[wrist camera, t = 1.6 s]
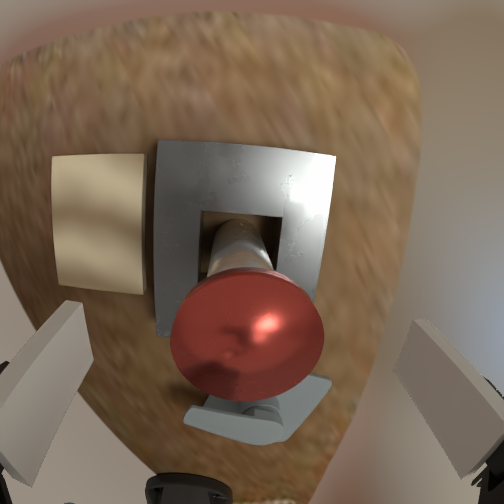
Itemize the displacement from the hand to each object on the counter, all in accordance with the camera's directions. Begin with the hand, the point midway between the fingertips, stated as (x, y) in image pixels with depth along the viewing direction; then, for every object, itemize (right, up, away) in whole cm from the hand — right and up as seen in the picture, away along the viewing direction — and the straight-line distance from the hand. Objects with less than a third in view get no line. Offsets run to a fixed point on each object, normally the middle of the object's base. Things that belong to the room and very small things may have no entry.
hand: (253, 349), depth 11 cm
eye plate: (-1, +4, +15) cm, 16 cm away
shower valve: (0, -13, +21) cm, 25 cm away
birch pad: (-14, +6, +13) cm, 20 cm away
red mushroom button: (-1, +4, +15) cm, 16 cm away
